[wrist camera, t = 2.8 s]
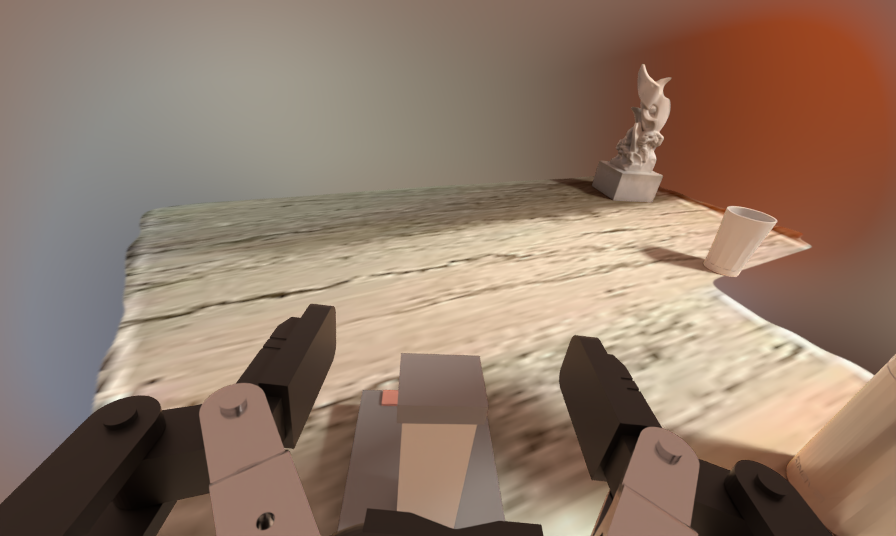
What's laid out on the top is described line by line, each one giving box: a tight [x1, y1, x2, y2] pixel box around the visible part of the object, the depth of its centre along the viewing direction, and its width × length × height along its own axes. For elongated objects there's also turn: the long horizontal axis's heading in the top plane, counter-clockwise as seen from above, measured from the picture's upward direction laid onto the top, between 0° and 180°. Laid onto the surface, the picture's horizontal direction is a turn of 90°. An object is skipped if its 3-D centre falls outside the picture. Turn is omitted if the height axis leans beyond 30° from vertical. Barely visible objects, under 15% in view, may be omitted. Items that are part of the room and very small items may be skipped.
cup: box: [703, 206, 777, 277], centre depth 72 cm, size 8×8×12 cm
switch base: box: [337, 390, 505, 532], centre depth 28 cm, size 12×22×3 cm, turn 3°
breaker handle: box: [396, 353, 489, 529], centre depth 23 cm, size 5×4×13 cm
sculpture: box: [592, 64, 671, 202], centre depth 105 cm, size 13×13×35 cm
